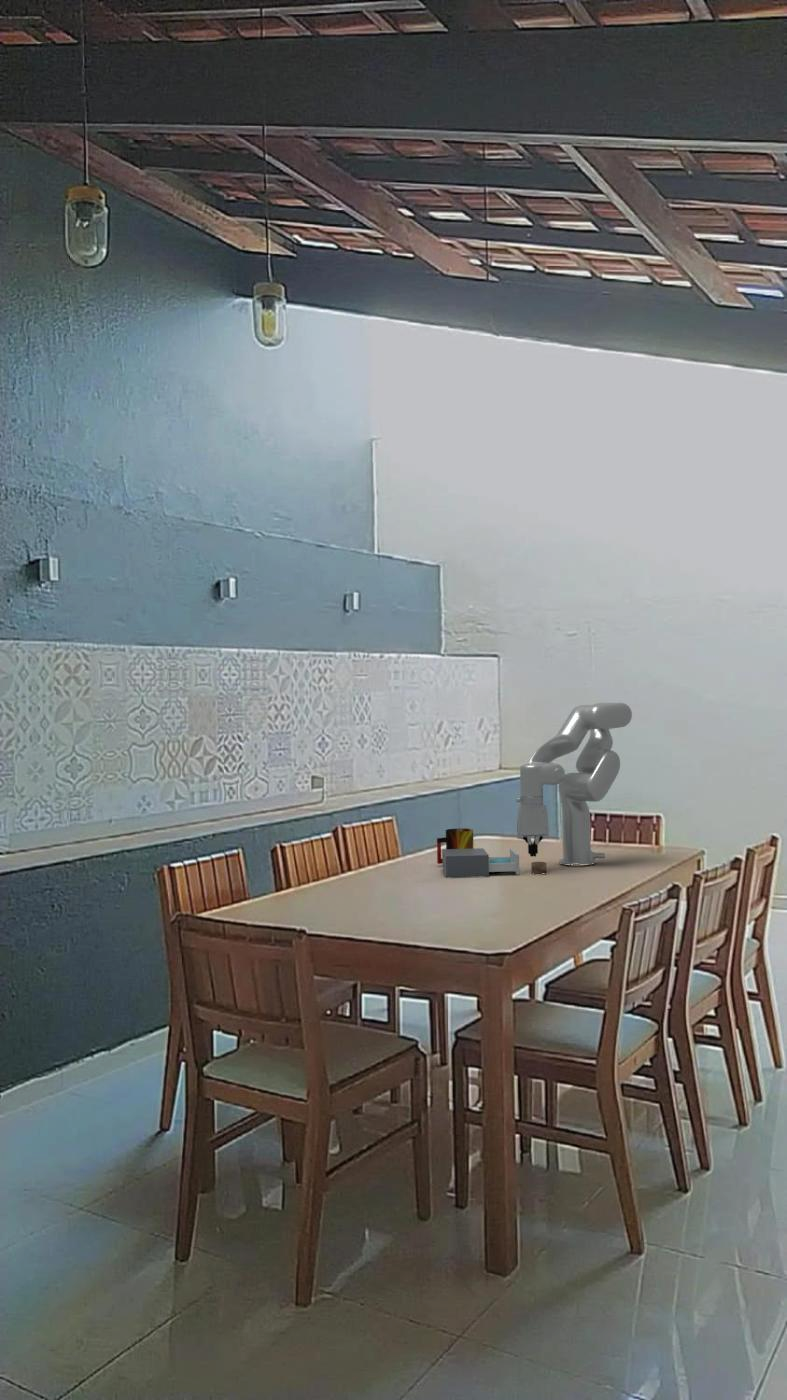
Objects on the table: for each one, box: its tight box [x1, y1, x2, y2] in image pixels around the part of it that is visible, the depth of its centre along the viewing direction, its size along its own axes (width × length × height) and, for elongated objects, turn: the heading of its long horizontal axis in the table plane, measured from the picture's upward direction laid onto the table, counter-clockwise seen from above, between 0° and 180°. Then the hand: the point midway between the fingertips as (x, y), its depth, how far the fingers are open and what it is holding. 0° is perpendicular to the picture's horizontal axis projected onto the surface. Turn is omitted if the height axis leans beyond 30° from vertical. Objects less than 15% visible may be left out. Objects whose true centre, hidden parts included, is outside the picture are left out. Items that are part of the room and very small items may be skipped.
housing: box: [441, 847, 490, 878], centre depth 388 cm, size 14×17×7 cm
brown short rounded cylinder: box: [530, 861, 548, 875], centre depth 383 cm, size 5×5×4 cm
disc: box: [489, 858, 511, 863], centre depth 388 cm, size 7×7×2 cm
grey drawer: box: [489, 848, 520, 875], centre depth 388 cm, size 13×15×6 cm
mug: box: [436, 827, 475, 865], centre depth 407 cm, size 10×14×12 cm
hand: (533, 855), depth 388 cm, fingers closed
